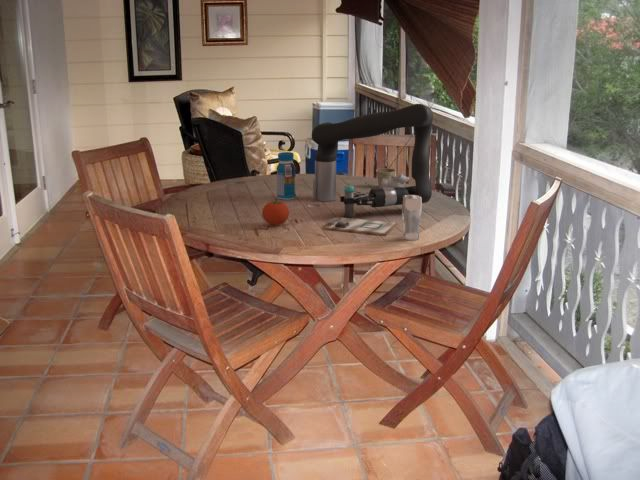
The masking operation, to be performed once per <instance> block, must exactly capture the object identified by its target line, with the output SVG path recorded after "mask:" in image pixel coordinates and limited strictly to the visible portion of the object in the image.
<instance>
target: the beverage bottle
mask: <svg viewBox="0 0 640 480" xmlns="http://www.w3.org/2000/svg"><path fill="white" fill-rule="evenodd" d="M277 160H278V162H279V163H278V164H277V166H276V171H277V172H276V175H275V176H276V180H277V181H276V183H277V184H276V188H277V189H276V190H277V199H279V200H281V199H282V201H287V200H288V201H290V200H294V199H295V198H296V196H297V195H296V177H297V176H296V171H295V170H296V166H295V164H294V162H293V161H294V152H288V151H282V152H279V153H278V154H277Z"/></svg>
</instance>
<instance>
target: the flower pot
mask: <svg viewBox="0 0 640 480" xmlns="http://www.w3.org/2000/svg"><path fill="white" fill-rule="evenodd" d="M396 171H397V170H396V169H395V168H377V169H375V172H376V174H377V183H378V188H381V186H380V184H381V180H382V179H387V180H391V176H393V175H394V176H395V173H396Z"/></svg>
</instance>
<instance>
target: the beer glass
mask: <svg viewBox="0 0 640 480" xmlns="http://www.w3.org/2000/svg"><path fill="white" fill-rule="evenodd" d="M422 210H423V203H422V197H421V196H419V195H404V196H403V200H402V205H401V218H402V224H403V225H402V227H403V231H402V236H401V238H402V239H403V240H405V241H410V240H413V241H418V240H420V233H419V231H420V230H419V229H420V223H421V222H420V221H421V218H422Z"/></svg>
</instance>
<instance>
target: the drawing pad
mask: <svg viewBox="0 0 640 480" xmlns="http://www.w3.org/2000/svg"><path fill="white" fill-rule="evenodd" d="M398 225H399V222H394V221H391V222H390V221H385V220H384V221H382V220H371V219H362V218H354V217H353V218H345V217H341V216H339V217H334V218H333V219H331V220H330V221H328V222H327V225H325V226H324V227H322V230H325V231H335V232H343V233H351V234H354V233H355V234H365V235H371V236H372V235H373V236H383V237H386V236H387V235H388V234H390V233H391V232H392V231H393V230H394V229H395V228H396V227H397V226H398ZM390 231H391V232H390Z"/></svg>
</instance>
